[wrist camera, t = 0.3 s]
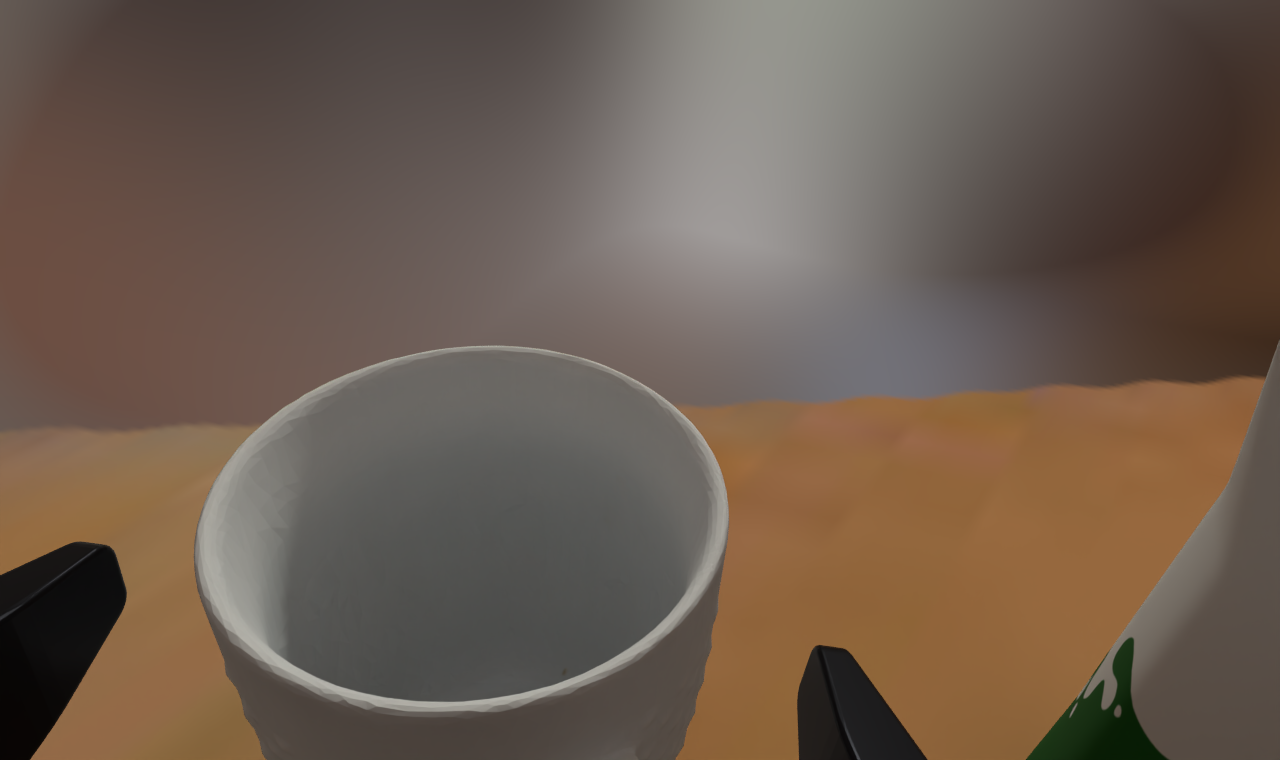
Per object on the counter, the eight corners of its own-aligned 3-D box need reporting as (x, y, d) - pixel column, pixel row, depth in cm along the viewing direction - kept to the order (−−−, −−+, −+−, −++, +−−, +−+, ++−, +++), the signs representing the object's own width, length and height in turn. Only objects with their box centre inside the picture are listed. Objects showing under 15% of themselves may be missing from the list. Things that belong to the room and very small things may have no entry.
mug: (831, 1011, 19) (1010, 741, 12) (406, 1354, 14) (253, 1263, 7) (581, 595, 30) (592, 310, 22) (285, 713, 25) (171, 400, 17)
